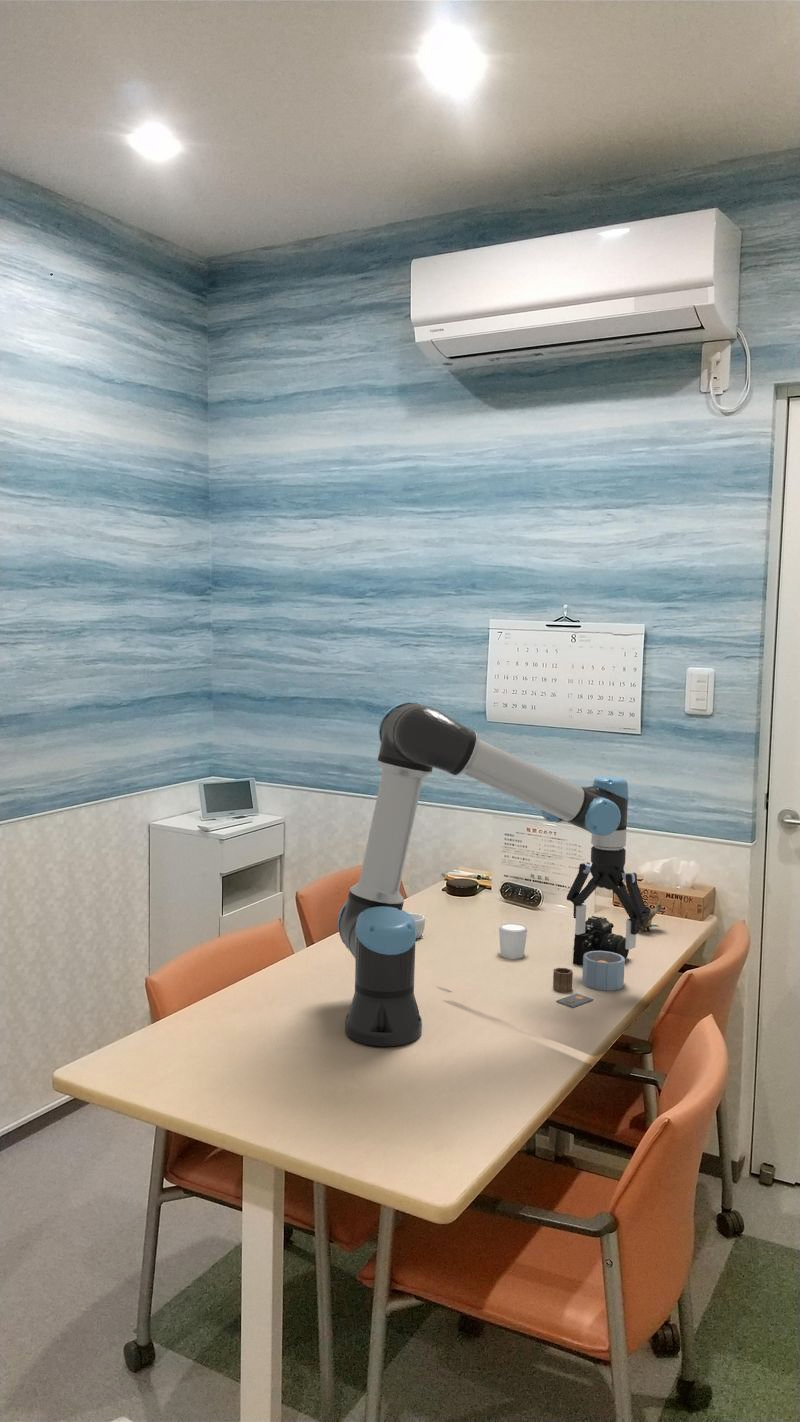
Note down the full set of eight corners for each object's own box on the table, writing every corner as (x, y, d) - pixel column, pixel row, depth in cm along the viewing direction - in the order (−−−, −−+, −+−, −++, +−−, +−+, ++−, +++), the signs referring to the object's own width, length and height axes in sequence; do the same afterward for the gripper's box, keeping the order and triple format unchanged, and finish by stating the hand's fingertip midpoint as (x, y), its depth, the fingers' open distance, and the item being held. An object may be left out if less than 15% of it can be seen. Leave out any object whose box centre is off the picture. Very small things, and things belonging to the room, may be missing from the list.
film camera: (624, 974, 228) (626, 932, 227) (570, 967, 231) (572, 926, 231) (631, 952, 244) (633, 913, 244) (581, 946, 248) (583, 907, 248)
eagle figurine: (653, 942, 253) (655, 908, 252) (627, 937, 257) (628, 903, 256) (663, 936, 259) (665, 902, 258) (637, 931, 263) (639, 897, 262)
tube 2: (607, 993, 215) (608, 966, 214) (574, 982, 221) (575, 955, 221) (631, 984, 221) (632, 958, 220) (598, 974, 227) (599, 948, 227)
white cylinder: (527, 960, 236) (528, 931, 235) (499, 959, 236) (500, 930, 236) (524, 951, 243) (525, 923, 242) (496, 950, 243) (497, 922, 242)
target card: (572, 1007, 205) (573, 1005, 205) (556, 1001, 209) (556, 1000, 209) (593, 1000, 210) (593, 998, 210) (576, 994, 213) (576, 992, 213)
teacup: (405, 931, 257) (405, 911, 257) (430, 936, 253) (430, 916, 253) (383, 940, 249) (383, 919, 249) (408, 946, 245) (409, 924, 244)
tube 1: (563, 993, 214) (564, 975, 214) (549, 988, 217) (550, 970, 217) (575, 989, 217) (576, 971, 216) (561, 984, 220) (561, 966, 219)
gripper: (666, 854, 212) (662, 951, 214) (573, 835, 231) (570, 925, 232) (647, 858, 207) (642, 957, 209) (553, 839, 226) (550, 930, 227)
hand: (604, 940), depth 220 cm, fingers open, 13 cm apart
